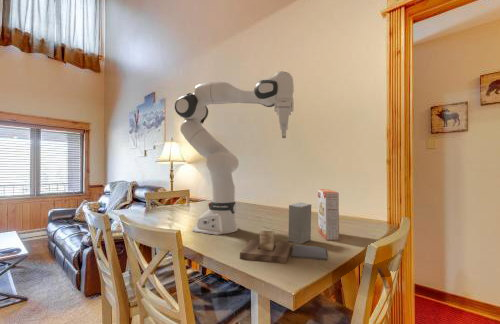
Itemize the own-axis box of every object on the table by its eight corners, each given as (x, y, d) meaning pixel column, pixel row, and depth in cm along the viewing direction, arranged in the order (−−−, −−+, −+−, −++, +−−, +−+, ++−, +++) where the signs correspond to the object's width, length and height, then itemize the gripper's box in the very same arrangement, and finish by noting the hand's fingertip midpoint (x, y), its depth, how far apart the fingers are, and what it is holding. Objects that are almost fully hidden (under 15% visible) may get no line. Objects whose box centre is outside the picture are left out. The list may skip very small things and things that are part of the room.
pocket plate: (239, 258, 85) (239, 252, 85) (251, 244, 101) (251, 239, 101) (286, 263, 81) (286, 256, 81) (290, 247, 97) (290, 242, 97)
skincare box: (298, 237, 111) (298, 202, 112) (312, 240, 106) (312, 203, 107) (287, 241, 105) (287, 203, 106) (301, 245, 100) (301, 205, 101)
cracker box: (317, 232, 121) (317, 189, 121) (330, 232, 120) (329, 189, 121) (325, 240, 107) (325, 191, 107) (339, 240, 106) (339, 191, 107)
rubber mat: (291, 256, 87) (291, 255, 87) (293, 246, 99) (293, 244, 99) (327, 260, 84) (327, 258, 84) (325, 248, 96) (325, 247, 96)
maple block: (259, 254, 89) (259, 233, 90) (262, 250, 94) (262, 230, 94) (272, 255, 88) (272, 234, 88) (274, 251, 93) (274, 231, 93)
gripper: (277, 112, 126) (277, 139, 126) (276, 101, 106) (276, 134, 106) (290, 112, 125) (290, 139, 125) (291, 101, 105) (291, 134, 105)
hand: (283, 137), depth 115 cm, fingers open, 8 cm apart
